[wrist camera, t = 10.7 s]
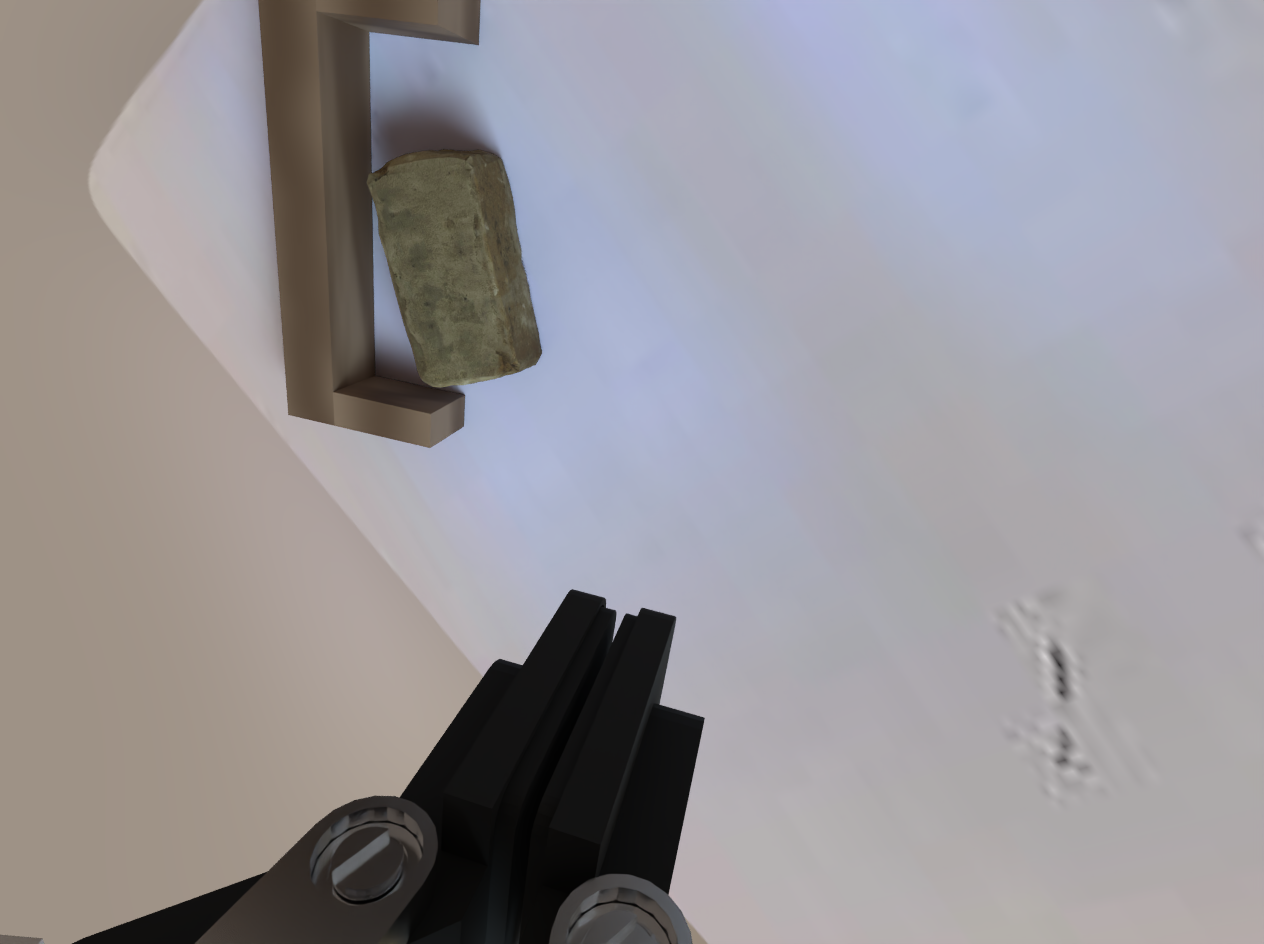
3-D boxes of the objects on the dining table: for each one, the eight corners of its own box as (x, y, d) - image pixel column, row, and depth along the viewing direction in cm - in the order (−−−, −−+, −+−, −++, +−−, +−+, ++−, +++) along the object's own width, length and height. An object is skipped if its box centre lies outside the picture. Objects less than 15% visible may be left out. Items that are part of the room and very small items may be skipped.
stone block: (462, 374, 40) (417, 395, 35) (408, 165, 36) (350, 158, 32) (552, 361, 38) (517, 382, 34) (505, 141, 34) (459, 131, 30)
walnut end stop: (480, -4, 32) (438, -31, 28) (463, 426, 41) (430, 448, 37) (314, -22, 33) (254, -49, 30) (332, 396, 42) (288, 414, 39)
